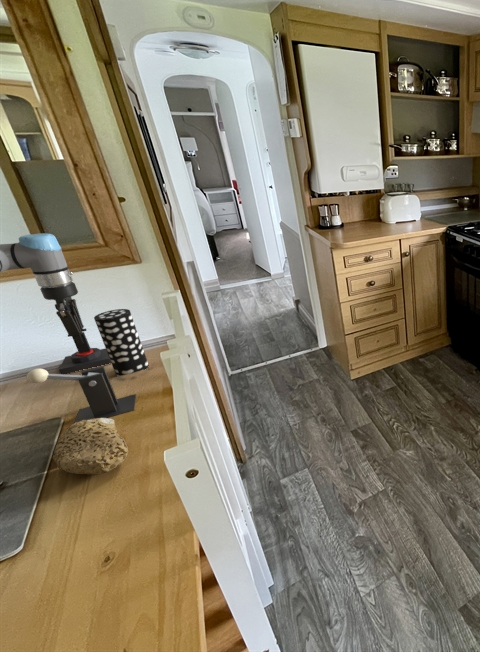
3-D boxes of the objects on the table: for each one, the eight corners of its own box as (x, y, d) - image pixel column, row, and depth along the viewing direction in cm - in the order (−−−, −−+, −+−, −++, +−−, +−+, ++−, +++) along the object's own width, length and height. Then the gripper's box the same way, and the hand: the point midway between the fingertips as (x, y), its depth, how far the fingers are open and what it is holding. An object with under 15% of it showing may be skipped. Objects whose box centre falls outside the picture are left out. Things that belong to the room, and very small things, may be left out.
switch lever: (22, 385, 90) (26, 371, 89) (27, 378, 92) (30, 365, 92) (98, 388, 98) (102, 375, 98) (100, 382, 101) (103, 369, 101)
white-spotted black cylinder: (109, 374, 120) (87, 317, 113) (137, 361, 128) (118, 307, 120) (127, 379, 118) (105, 321, 111) (155, 366, 125) (136, 311, 118)
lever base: (74, 430, 96) (55, 388, 91) (80, 412, 103) (62, 372, 98) (135, 413, 103) (120, 373, 98) (137, 397, 109) (123, 358, 105)
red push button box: (61, 375, 119) (56, 364, 118) (67, 362, 127) (63, 352, 125) (111, 364, 126) (107, 353, 125) (114, 352, 134) (110, 342, 132)
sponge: (64, 451, 91) (37, 493, 75) (62, 420, 90) (34, 455, 74) (136, 438, 99) (126, 473, 83) (135, 409, 98) (124, 439, 82)
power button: (77, 360, 123) (75, 356, 122) (79, 356, 126) (77, 351, 125) (94, 357, 125) (92, 352, 125) (95, 352, 128) (93, 348, 127)
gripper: (69, 287, 113) (97, 356, 122) (77, 277, 123) (102, 340, 132) (34, 292, 109) (65, 363, 118) (44, 281, 119) (73, 346, 128)
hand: (85, 351), depth 125 cm, fingers closed
